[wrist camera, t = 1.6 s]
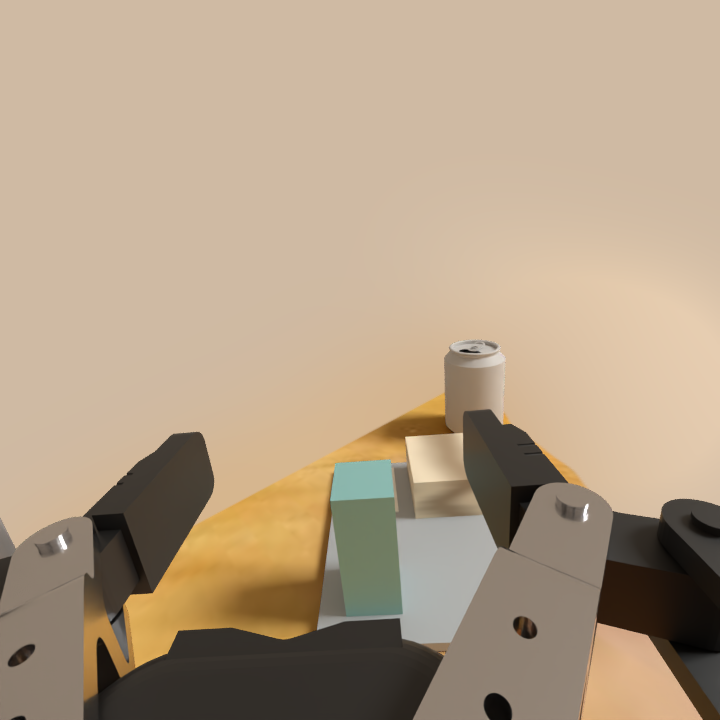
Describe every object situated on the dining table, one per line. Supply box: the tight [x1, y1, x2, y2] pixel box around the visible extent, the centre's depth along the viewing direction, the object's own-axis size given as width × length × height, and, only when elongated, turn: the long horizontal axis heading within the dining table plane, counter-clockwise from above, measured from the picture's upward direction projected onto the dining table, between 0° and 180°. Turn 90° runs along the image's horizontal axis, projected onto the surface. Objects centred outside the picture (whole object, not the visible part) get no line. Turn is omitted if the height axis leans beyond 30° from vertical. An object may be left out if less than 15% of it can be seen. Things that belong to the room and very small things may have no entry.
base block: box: [405, 433, 483, 519], centre depth 37 cm, size 8×8×4 cm
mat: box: [317, 462, 497, 652], centre depth 33 cm, size 16×20×1 cm
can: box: [444, 340, 505, 433], centre depth 48 cm, size 8×8×12 cm
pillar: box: [330, 460, 403, 617], centre depth 26 cm, size 4×4×10 cm
